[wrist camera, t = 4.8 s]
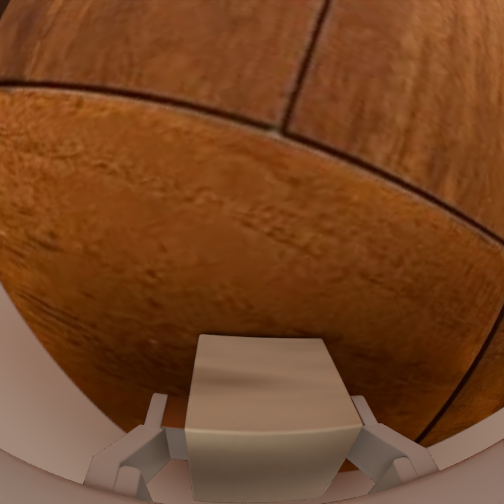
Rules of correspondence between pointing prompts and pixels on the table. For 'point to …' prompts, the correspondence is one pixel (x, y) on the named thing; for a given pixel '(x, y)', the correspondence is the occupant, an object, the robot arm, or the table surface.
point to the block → (266, 420)
